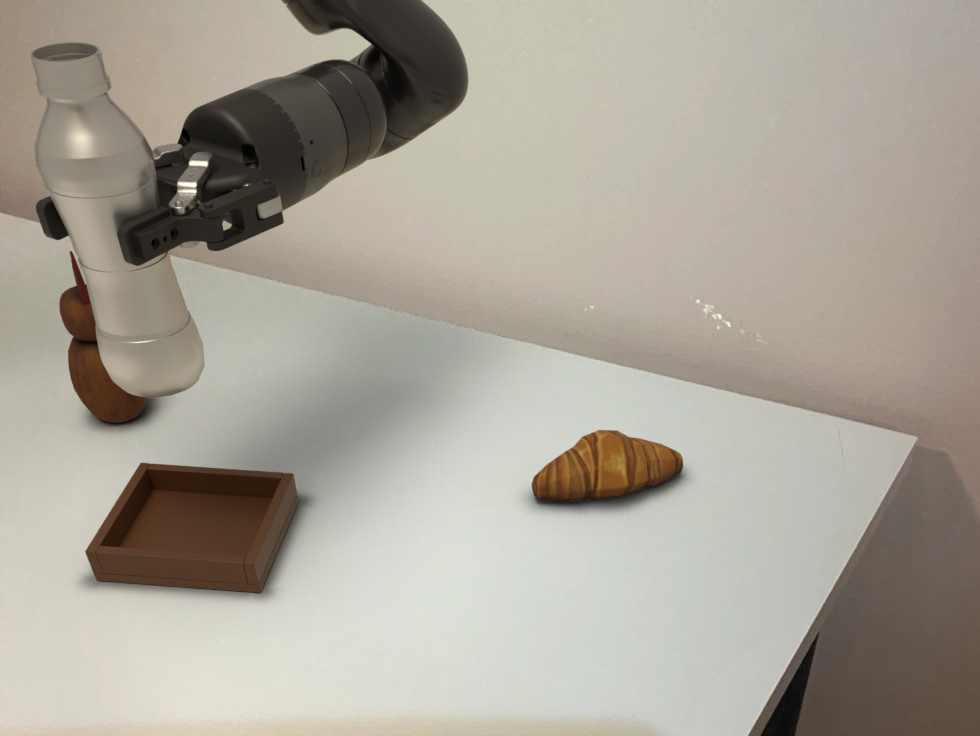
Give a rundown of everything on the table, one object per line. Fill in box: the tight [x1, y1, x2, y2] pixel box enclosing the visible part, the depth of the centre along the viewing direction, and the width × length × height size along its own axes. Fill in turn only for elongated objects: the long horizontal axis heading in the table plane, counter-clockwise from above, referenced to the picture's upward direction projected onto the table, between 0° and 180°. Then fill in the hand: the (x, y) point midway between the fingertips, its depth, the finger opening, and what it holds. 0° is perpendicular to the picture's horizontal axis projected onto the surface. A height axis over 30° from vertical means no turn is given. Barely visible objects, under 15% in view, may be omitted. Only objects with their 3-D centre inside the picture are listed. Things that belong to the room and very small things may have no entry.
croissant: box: [531, 429, 684, 503], centre depth 84 cm, size 14×7×5 cm, turn 109°
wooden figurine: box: [58, 250, 148, 424], centre depth 87 cm, size 7×6×15 cm
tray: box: [84, 462, 300, 594], centre depth 79 cm, size 13×12×3 cm
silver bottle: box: [29, 41, 206, 398], centre depth 63 cm, size 6×7×20 cm
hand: (84, 235), depth 61 cm, fingers closed on silver bottle, 6 cm apart
